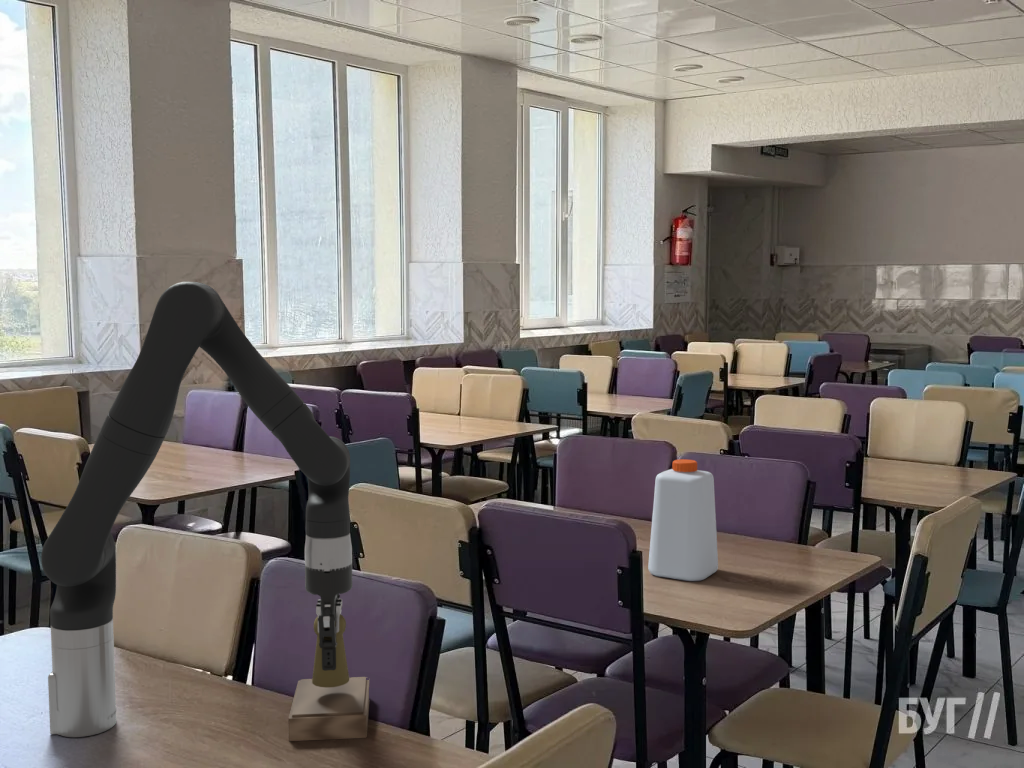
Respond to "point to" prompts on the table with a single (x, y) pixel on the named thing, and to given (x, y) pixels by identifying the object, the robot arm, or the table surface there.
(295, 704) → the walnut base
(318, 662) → the cork
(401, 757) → the table surface
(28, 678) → the table surface
